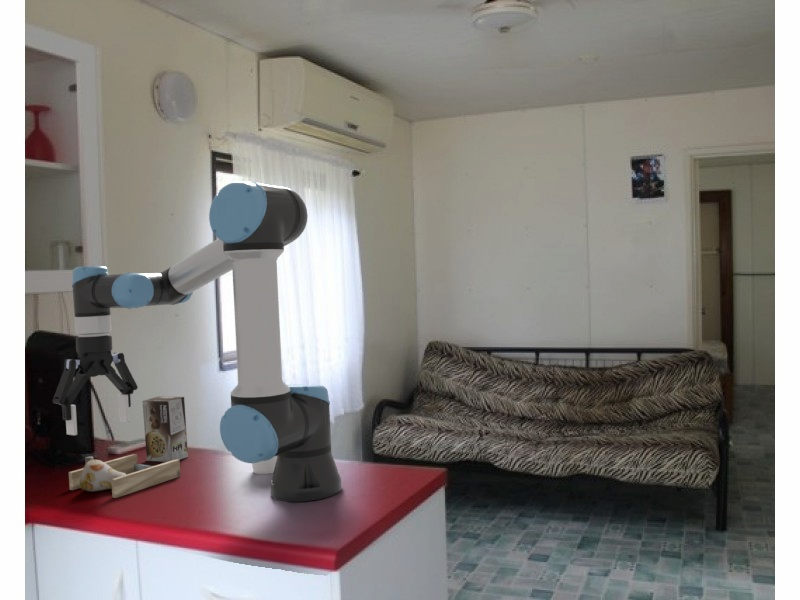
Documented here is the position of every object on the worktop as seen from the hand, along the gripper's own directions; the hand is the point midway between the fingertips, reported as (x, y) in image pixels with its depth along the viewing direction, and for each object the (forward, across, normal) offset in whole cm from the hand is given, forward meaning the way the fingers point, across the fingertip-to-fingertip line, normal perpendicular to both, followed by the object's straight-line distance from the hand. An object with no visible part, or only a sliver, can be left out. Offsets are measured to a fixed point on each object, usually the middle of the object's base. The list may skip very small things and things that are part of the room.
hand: (99, 428), depth 165 cm
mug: (+14, -1, 0) cm, 14 cm away
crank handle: (+14, -9, -12) cm, 21 cm away
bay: (+14, -6, 0) cm, 15 cm away
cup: (+14, -27, +25) cm, 40 cm away
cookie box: (+14, -26, -9) cm, 31 cm away
